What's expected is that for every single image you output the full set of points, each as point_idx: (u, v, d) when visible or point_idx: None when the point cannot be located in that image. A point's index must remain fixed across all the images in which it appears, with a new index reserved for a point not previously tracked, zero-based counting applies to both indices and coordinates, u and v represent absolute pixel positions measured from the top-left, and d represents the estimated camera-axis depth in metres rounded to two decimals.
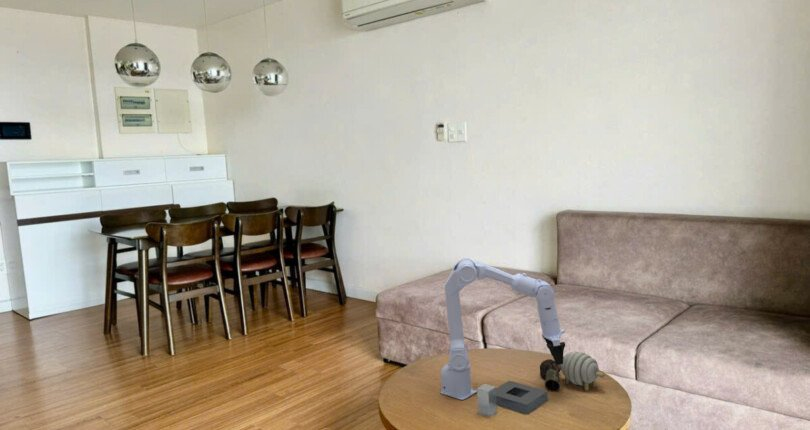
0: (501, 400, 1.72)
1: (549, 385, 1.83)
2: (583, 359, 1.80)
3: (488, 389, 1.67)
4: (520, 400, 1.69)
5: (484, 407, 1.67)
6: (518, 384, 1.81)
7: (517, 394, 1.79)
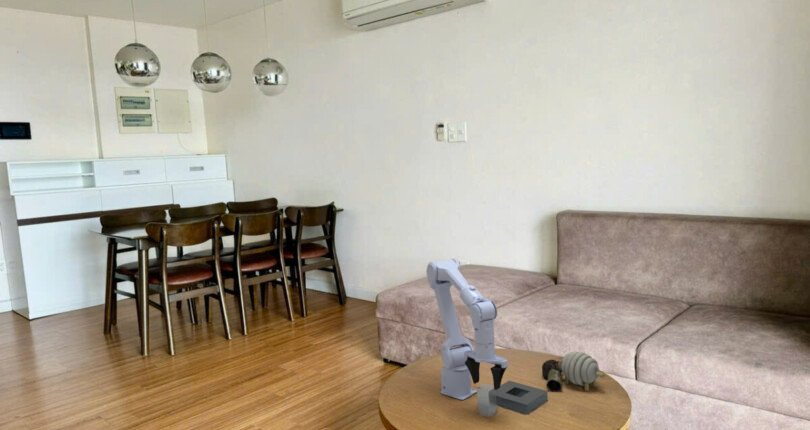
0: (501, 400, 1.72)
1: (551, 385, 1.83)
2: (583, 359, 1.80)
3: (488, 389, 1.67)
4: (520, 400, 1.69)
5: (484, 407, 1.67)
6: (518, 384, 1.81)
7: (517, 394, 1.79)
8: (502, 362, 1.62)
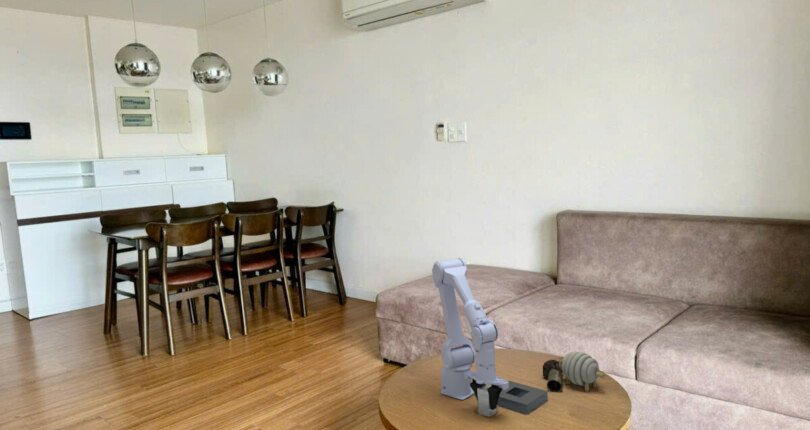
0: (501, 400, 1.72)
1: (551, 385, 1.83)
2: (583, 359, 1.80)
3: None
4: (520, 400, 1.69)
5: (484, 407, 1.67)
6: (518, 384, 1.81)
7: (517, 394, 1.79)
8: (503, 384, 1.62)
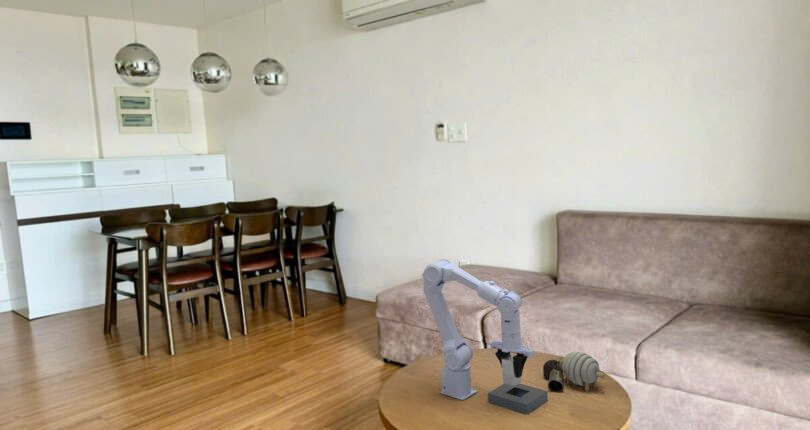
0: (501, 400, 1.72)
1: (552, 386, 1.82)
2: (583, 359, 1.80)
3: (512, 359, 1.71)
4: (520, 400, 1.69)
5: (509, 377, 1.71)
6: (518, 384, 1.81)
7: (517, 394, 1.79)
8: (528, 352, 1.67)
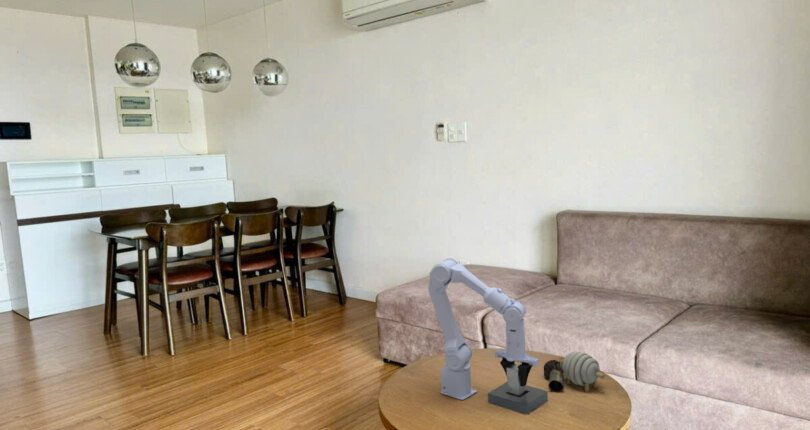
0: (501, 400, 1.72)
1: (553, 386, 1.82)
2: (584, 359, 1.80)
3: (517, 368, 1.72)
4: (520, 400, 1.69)
5: (514, 386, 1.73)
6: None
7: None
8: (533, 361, 1.69)
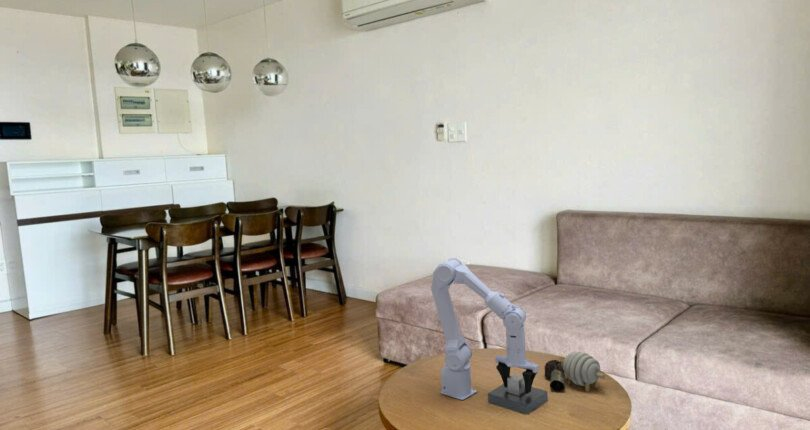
0: (501, 400, 1.72)
1: (554, 386, 1.82)
2: (584, 359, 1.80)
3: (518, 379, 1.73)
4: (520, 400, 1.69)
5: None
6: None
7: None
8: (533, 367, 1.69)
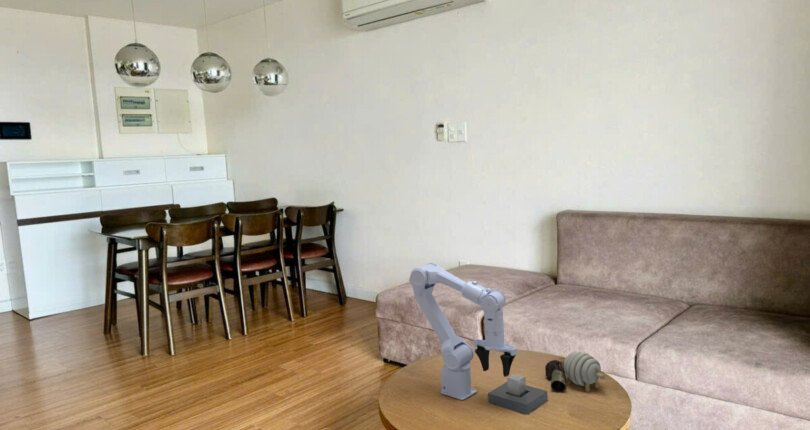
0: (501, 400, 1.72)
1: (555, 386, 1.82)
2: (584, 359, 1.80)
3: (518, 379, 1.73)
4: (520, 400, 1.69)
5: None
6: None
7: None
8: (511, 350, 1.69)
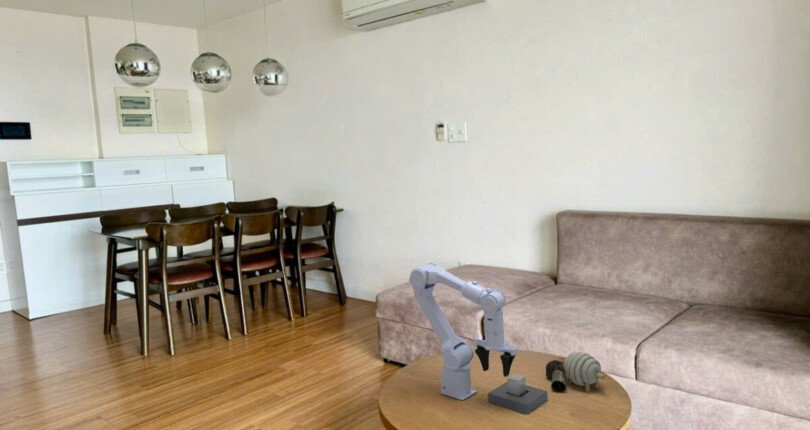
0: (501, 400, 1.72)
1: (555, 386, 1.82)
2: (584, 360, 1.80)
3: (518, 379, 1.73)
4: (520, 400, 1.69)
5: None
6: None
7: None
8: (511, 350, 1.69)
